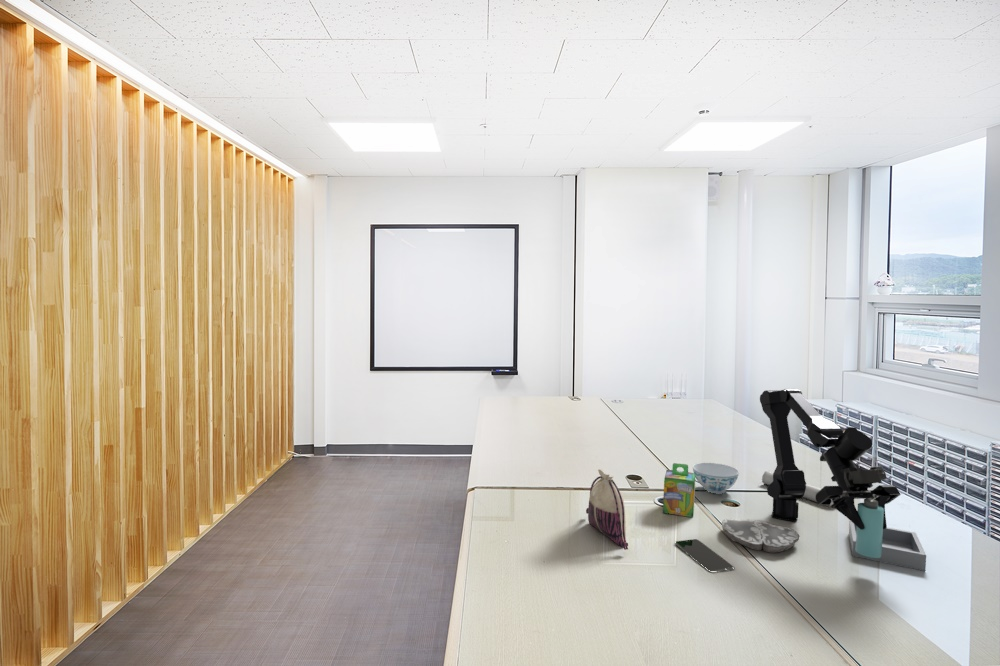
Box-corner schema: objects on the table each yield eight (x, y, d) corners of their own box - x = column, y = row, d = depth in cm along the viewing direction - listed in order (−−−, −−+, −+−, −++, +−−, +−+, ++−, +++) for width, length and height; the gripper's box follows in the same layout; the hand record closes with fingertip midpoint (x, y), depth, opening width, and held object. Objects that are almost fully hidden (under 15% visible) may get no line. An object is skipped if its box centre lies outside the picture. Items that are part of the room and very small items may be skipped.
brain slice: (723, 550, 141) (723, 539, 140) (720, 525, 157) (720, 515, 156) (806, 563, 134) (807, 551, 134) (794, 535, 150) (794, 525, 150)
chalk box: (662, 513, 164) (663, 467, 164) (665, 503, 173) (666, 459, 172) (694, 518, 161) (695, 470, 160) (694, 507, 169) (696, 462, 169)
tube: (842, 494, 171) (773, 471, 194) (833, 492, 169) (764, 469, 191) (838, 510, 171) (769, 485, 193) (829, 508, 168) (760, 483, 191)
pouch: (571, 520, 159) (572, 458, 158) (594, 516, 162) (595, 455, 161) (619, 557, 136) (621, 485, 135) (645, 551, 139) (647, 481, 138)
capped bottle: (856, 554, 127) (858, 502, 127) (854, 545, 132) (857, 495, 131) (882, 559, 125) (885, 506, 124) (880, 551, 129) (882, 499, 128)
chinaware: (698, 480, 195) (699, 460, 195) (742, 489, 187) (742, 467, 186) (686, 492, 183) (687, 470, 183) (732, 501, 174) (733, 479, 174)
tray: (852, 555, 137) (853, 540, 137) (848, 534, 150) (849, 520, 150) (925, 571, 130) (926, 555, 130) (914, 546, 143) (915, 532, 142)
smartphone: (710, 571, 128) (673, 541, 144) (710, 575, 128) (673, 544, 144) (736, 567, 130) (697, 538, 145) (736, 572, 130) (697, 542, 145)
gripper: (825, 454, 130) (855, 516, 120) (896, 453, 131) (932, 514, 121) (803, 475, 139) (830, 534, 128) (870, 474, 140) (902, 532, 129)
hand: (874, 528), depth 127 cm, fingers closed on capped bottle, 5 cm apart
